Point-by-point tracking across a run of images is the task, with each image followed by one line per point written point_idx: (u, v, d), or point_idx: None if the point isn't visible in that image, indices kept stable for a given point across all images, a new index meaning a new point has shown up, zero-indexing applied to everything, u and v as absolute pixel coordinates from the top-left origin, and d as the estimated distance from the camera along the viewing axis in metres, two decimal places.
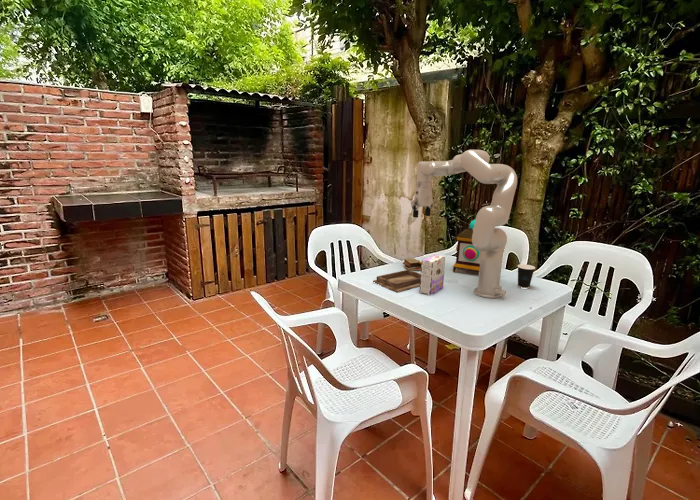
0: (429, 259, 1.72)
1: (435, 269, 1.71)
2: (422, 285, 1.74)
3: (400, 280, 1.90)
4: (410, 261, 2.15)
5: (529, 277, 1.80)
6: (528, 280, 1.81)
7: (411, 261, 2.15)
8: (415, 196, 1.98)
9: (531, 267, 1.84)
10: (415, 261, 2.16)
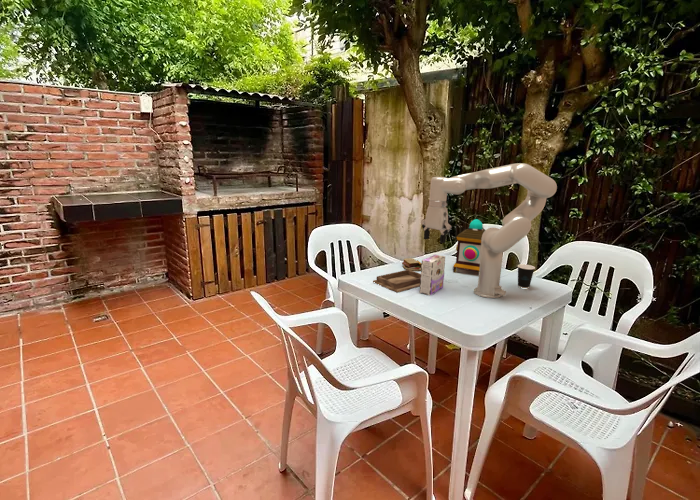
0: (429, 259, 1.72)
1: (435, 269, 1.71)
2: (422, 285, 1.74)
3: (400, 280, 1.90)
4: (409, 261, 2.15)
5: (529, 277, 1.80)
6: (528, 280, 1.81)
7: (410, 261, 2.15)
8: (443, 218, 1.66)
9: (531, 267, 1.84)
10: (414, 261, 2.15)
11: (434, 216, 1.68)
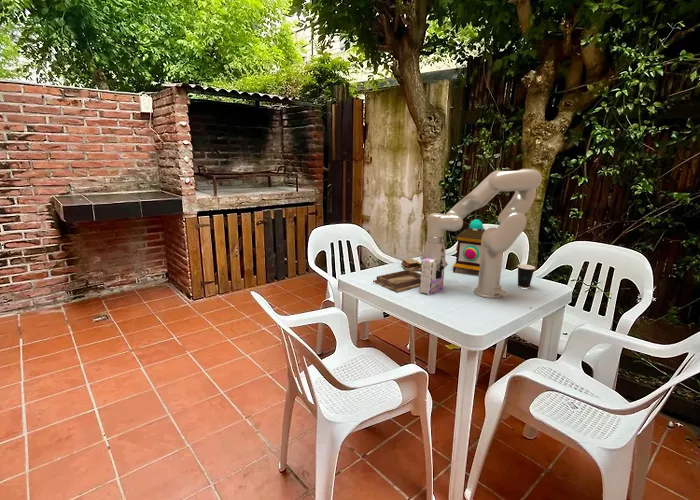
0: (429, 259, 1.72)
1: (435, 269, 1.71)
2: (421, 285, 1.74)
3: (400, 280, 1.90)
4: (408, 261, 2.14)
5: (529, 277, 1.80)
6: (528, 280, 1.81)
7: (409, 261, 2.14)
8: (441, 254, 1.70)
9: (531, 267, 1.84)
10: (413, 261, 2.15)
11: (432, 251, 1.72)
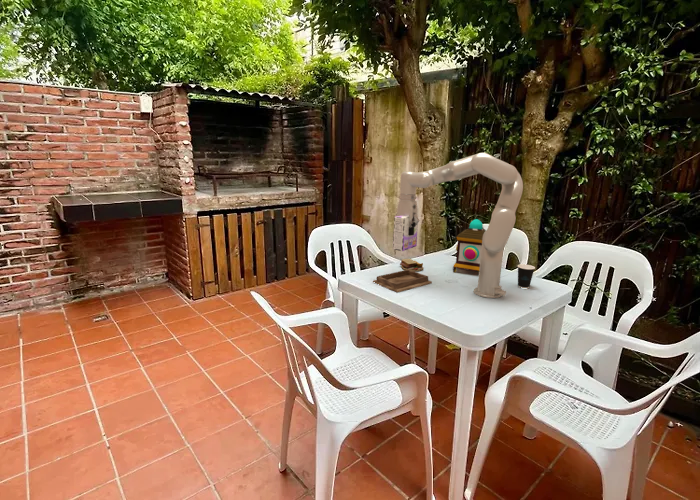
0: (401, 216, 1.77)
1: (407, 225, 1.77)
2: (394, 242, 1.79)
3: (400, 280, 1.90)
4: (408, 262, 2.13)
5: (529, 277, 1.80)
6: (528, 280, 1.81)
7: (408, 262, 2.14)
8: (413, 211, 1.75)
9: (531, 267, 1.84)
10: (412, 262, 2.15)
11: (404, 209, 1.77)
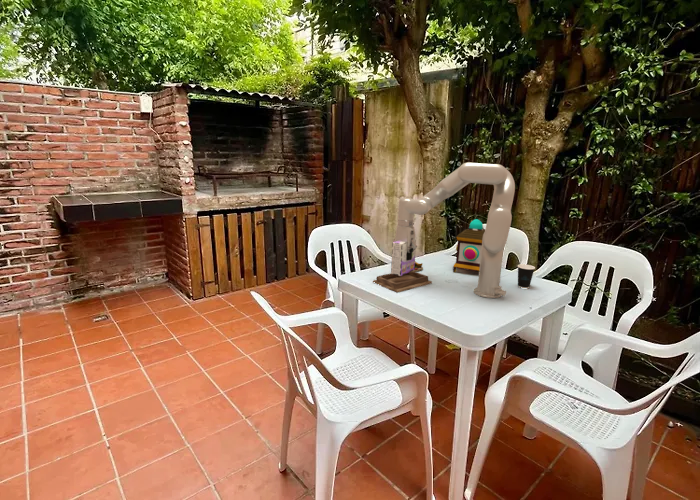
0: (399, 241, 1.81)
1: (405, 251, 1.80)
2: (393, 266, 1.82)
3: (400, 280, 1.90)
4: None
5: (529, 277, 1.80)
6: (528, 280, 1.81)
7: None
8: (410, 237, 1.79)
9: (531, 267, 1.84)
10: None
11: (402, 234, 1.80)
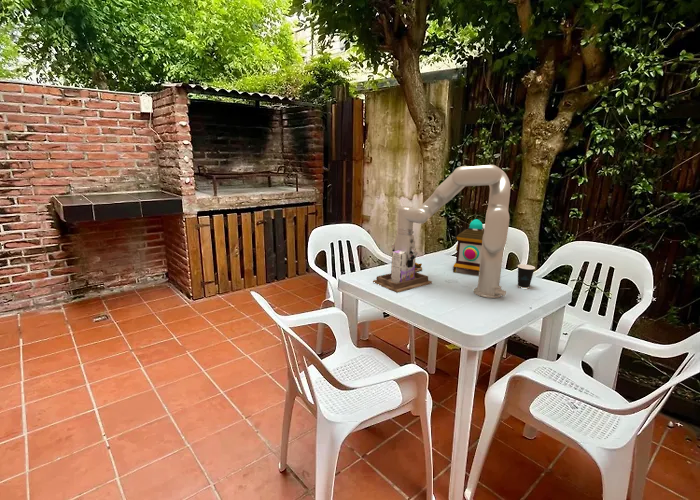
0: (399, 251, 1.82)
1: (404, 260, 1.81)
2: (392, 276, 1.84)
3: None
4: None
5: (529, 277, 1.80)
6: (528, 280, 1.81)
7: None
8: (410, 245, 1.80)
9: (531, 267, 1.84)
10: None
11: (402, 243, 1.82)
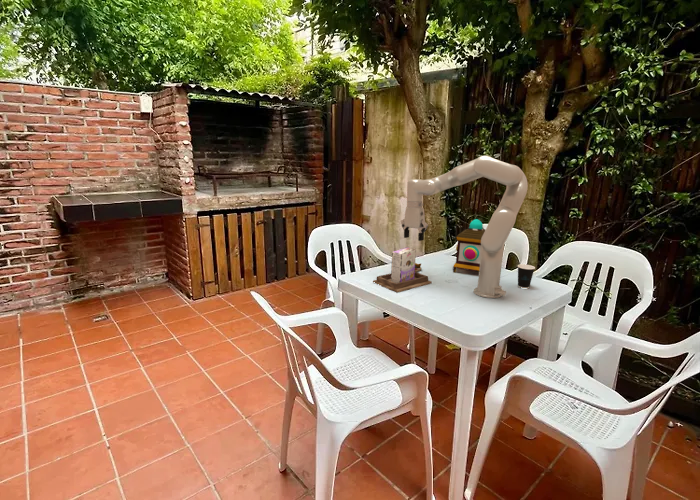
0: (399, 251, 1.82)
1: (404, 260, 1.81)
2: (392, 276, 1.84)
3: None
4: None
5: (529, 277, 1.80)
6: (528, 280, 1.81)
7: None
8: (420, 218, 1.78)
9: (531, 267, 1.84)
10: None
11: (412, 216, 1.80)
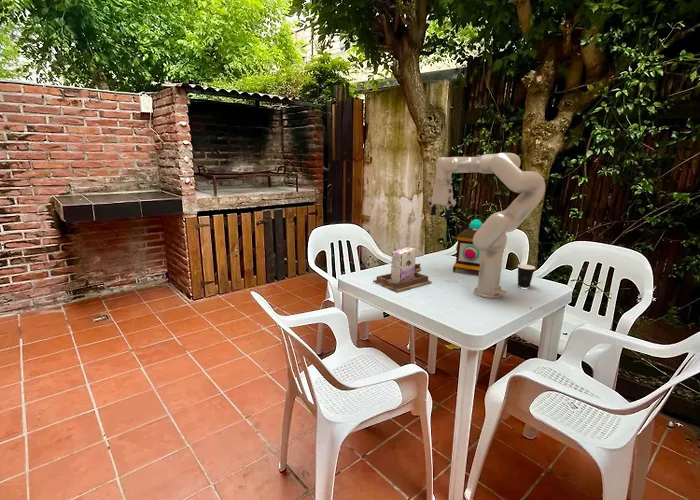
0: (399, 251, 1.82)
1: (404, 260, 1.81)
2: (392, 276, 1.84)
3: None
4: None
5: (529, 277, 1.80)
6: (528, 280, 1.81)
7: None
8: (448, 195, 1.83)
9: (531, 267, 1.84)
10: None
11: (440, 193, 1.85)
